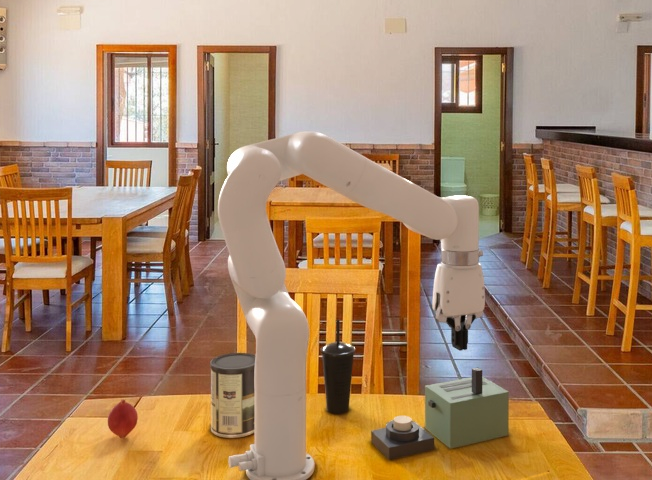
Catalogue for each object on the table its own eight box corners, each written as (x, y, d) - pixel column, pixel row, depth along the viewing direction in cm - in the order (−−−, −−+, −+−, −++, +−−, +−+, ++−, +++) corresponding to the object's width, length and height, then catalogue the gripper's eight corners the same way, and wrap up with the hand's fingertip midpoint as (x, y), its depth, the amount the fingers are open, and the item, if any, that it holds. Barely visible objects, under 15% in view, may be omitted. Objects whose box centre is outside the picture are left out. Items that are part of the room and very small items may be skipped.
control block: (389, 460, 134) (389, 439, 134) (371, 442, 142) (371, 422, 142) (434, 449, 138) (434, 429, 138) (414, 433, 146) (414, 413, 146)
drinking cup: (351, 418, 152) (351, 326, 152) (316, 415, 154) (316, 324, 154) (358, 404, 160) (358, 316, 160) (325, 401, 161) (325, 314, 161)
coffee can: (253, 413, 155) (253, 349, 155) (265, 433, 145) (265, 365, 145) (206, 421, 151) (206, 355, 151) (214, 442, 142) (214, 372, 141)
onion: (101, 440, 142) (101, 400, 142) (123, 428, 148) (123, 390, 147) (122, 446, 140) (122, 406, 140) (143, 434, 145) (143, 396, 145)
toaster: (446, 449, 138) (446, 403, 138) (421, 429, 148) (421, 385, 147) (508, 435, 145) (508, 391, 145) (480, 416, 154) (480, 374, 154)
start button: (398, 433, 138) (398, 424, 138) (390, 426, 141) (390, 417, 141) (414, 430, 139) (414, 421, 139) (406, 422, 142) (406, 414, 142)
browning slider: (475, 394, 143) (475, 371, 143) (471, 391, 144) (471, 368, 144) (482, 393, 143) (482, 369, 143) (478, 390, 145) (478, 367, 145)
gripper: (480, 251, 149) (480, 337, 149) (418, 257, 143) (418, 347, 143) (501, 258, 142) (501, 348, 142) (437, 264, 136) (437, 359, 136)
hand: (459, 348), depth 143 cm, fingers closed
